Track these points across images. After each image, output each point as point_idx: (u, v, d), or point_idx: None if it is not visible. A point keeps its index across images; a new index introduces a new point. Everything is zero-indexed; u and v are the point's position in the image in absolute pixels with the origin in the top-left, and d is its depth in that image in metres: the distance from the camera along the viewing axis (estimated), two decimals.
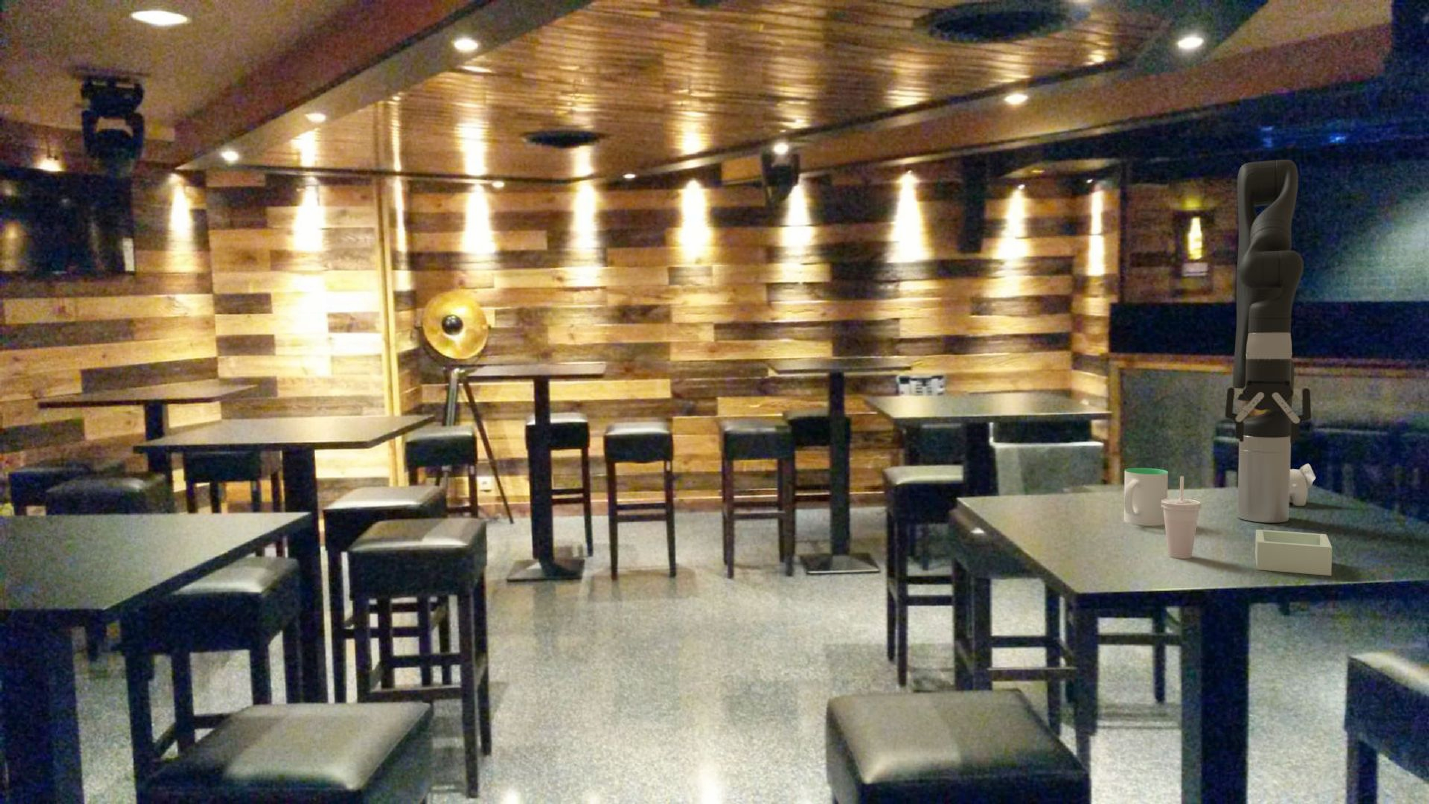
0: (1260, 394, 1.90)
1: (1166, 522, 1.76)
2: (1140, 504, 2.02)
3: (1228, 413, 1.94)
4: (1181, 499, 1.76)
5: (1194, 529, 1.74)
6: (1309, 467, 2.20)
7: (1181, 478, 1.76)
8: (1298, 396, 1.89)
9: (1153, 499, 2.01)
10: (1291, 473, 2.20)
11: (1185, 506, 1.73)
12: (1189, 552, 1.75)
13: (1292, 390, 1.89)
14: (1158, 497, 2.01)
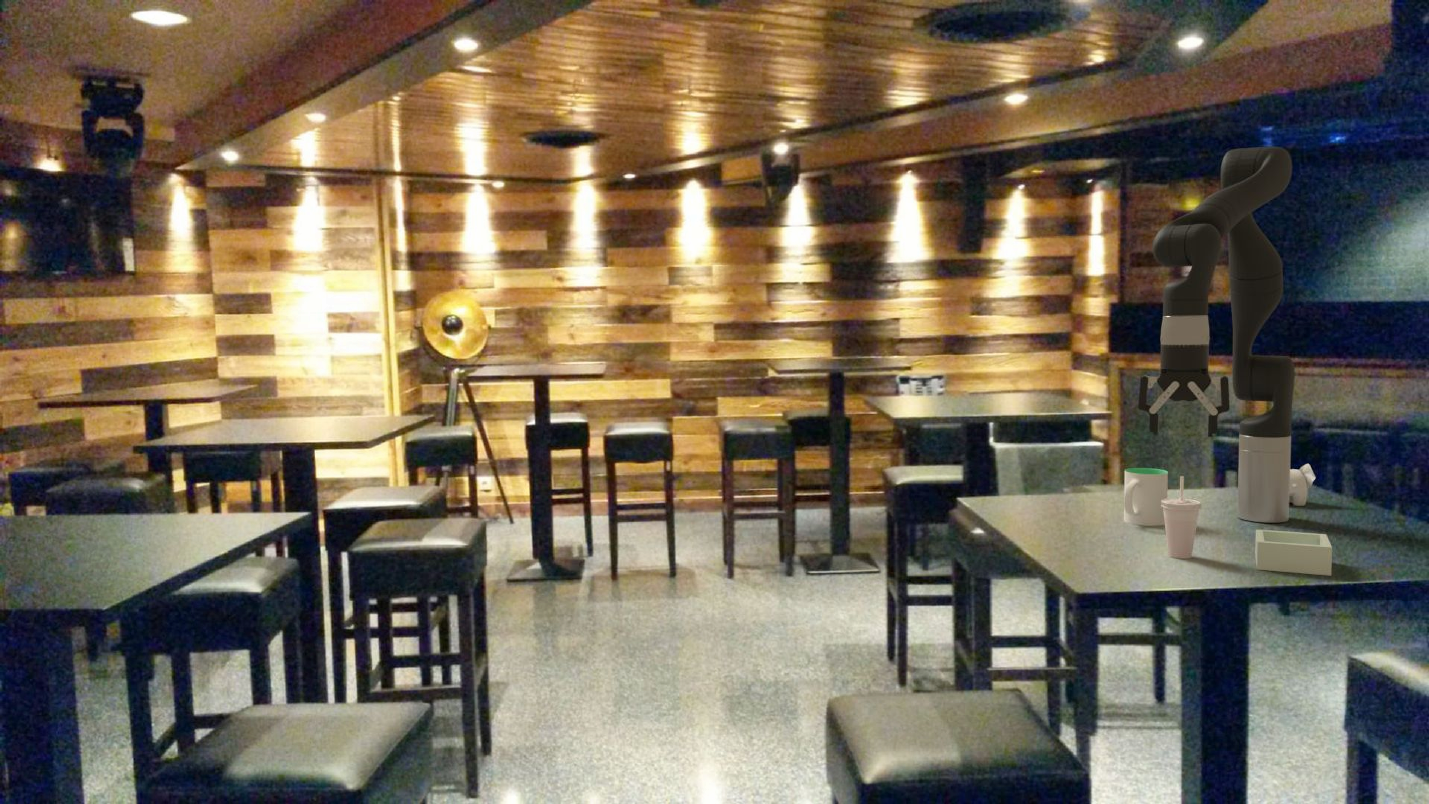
0: (1175, 383, 1.73)
1: (1166, 522, 1.76)
2: (1140, 504, 2.02)
3: (1141, 404, 1.76)
4: (1181, 499, 1.76)
5: (1194, 529, 1.74)
6: (1309, 467, 2.20)
7: (1181, 478, 1.76)
8: (1216, 385, 1.71)
9: (1153, 499, 2.01)
10: (1291, 473, 2.20)
11: (1185, 506, 1.73)
12: (1189, 552, 1.75)
13: (1209, 379, 1.71)
14: (1158, 497, 2.01)
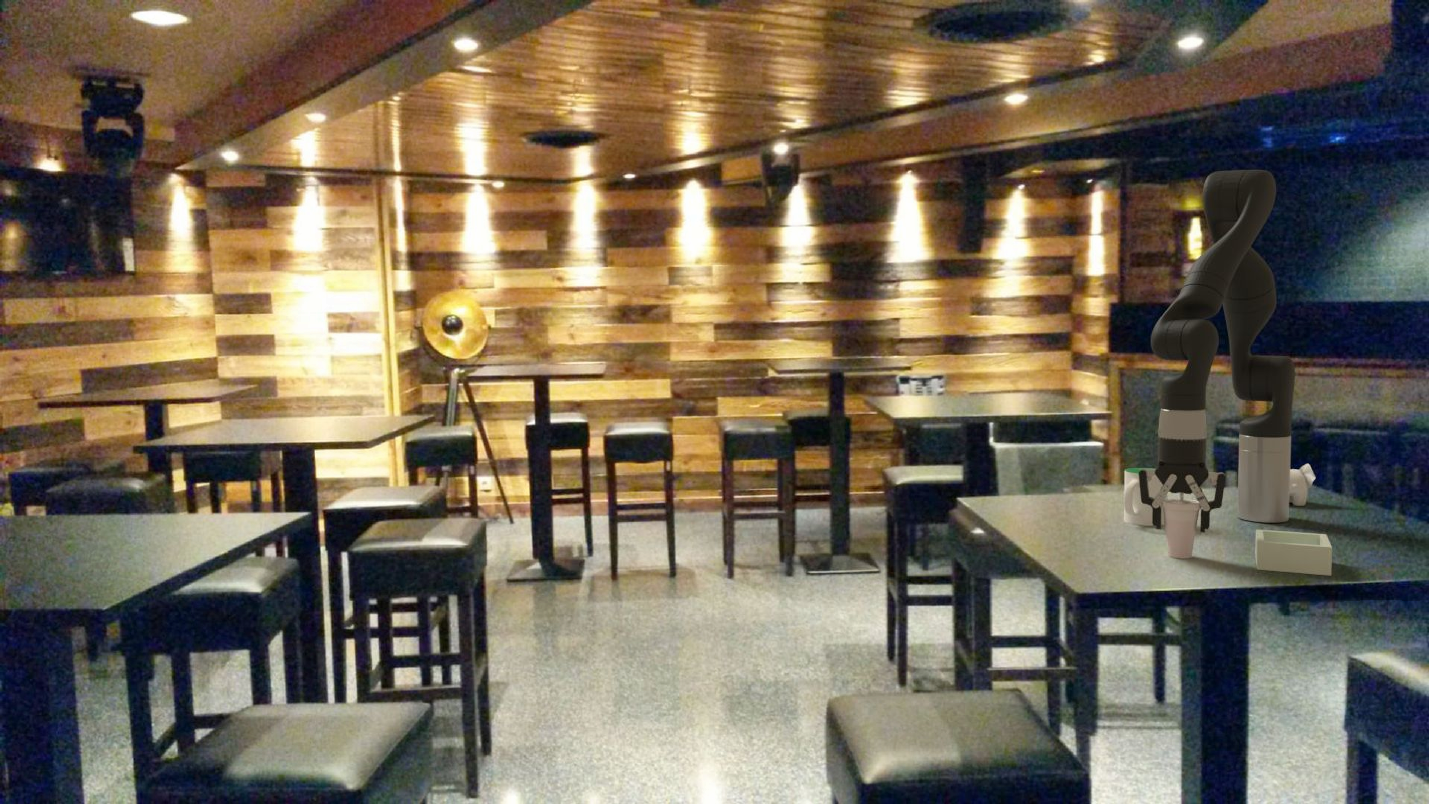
0: (1172, 476, 1.74)
1: (1166, 522, 1.76)
2: (1140, 504, 2.02)
3: (1144, 498, 1.77)
4: (1181, 499, 1.76)
5: (1194, 529, 1.74)
6: (1309, 467, 2.20)
7: None
8: (1212, 480, 1.73)
9: None
10: (1291, 473, 2.20)
11: (1185, 506, 1.73)
12: (1189, 552, 1.75)
13: (1207, 473, 1.73)
14: None
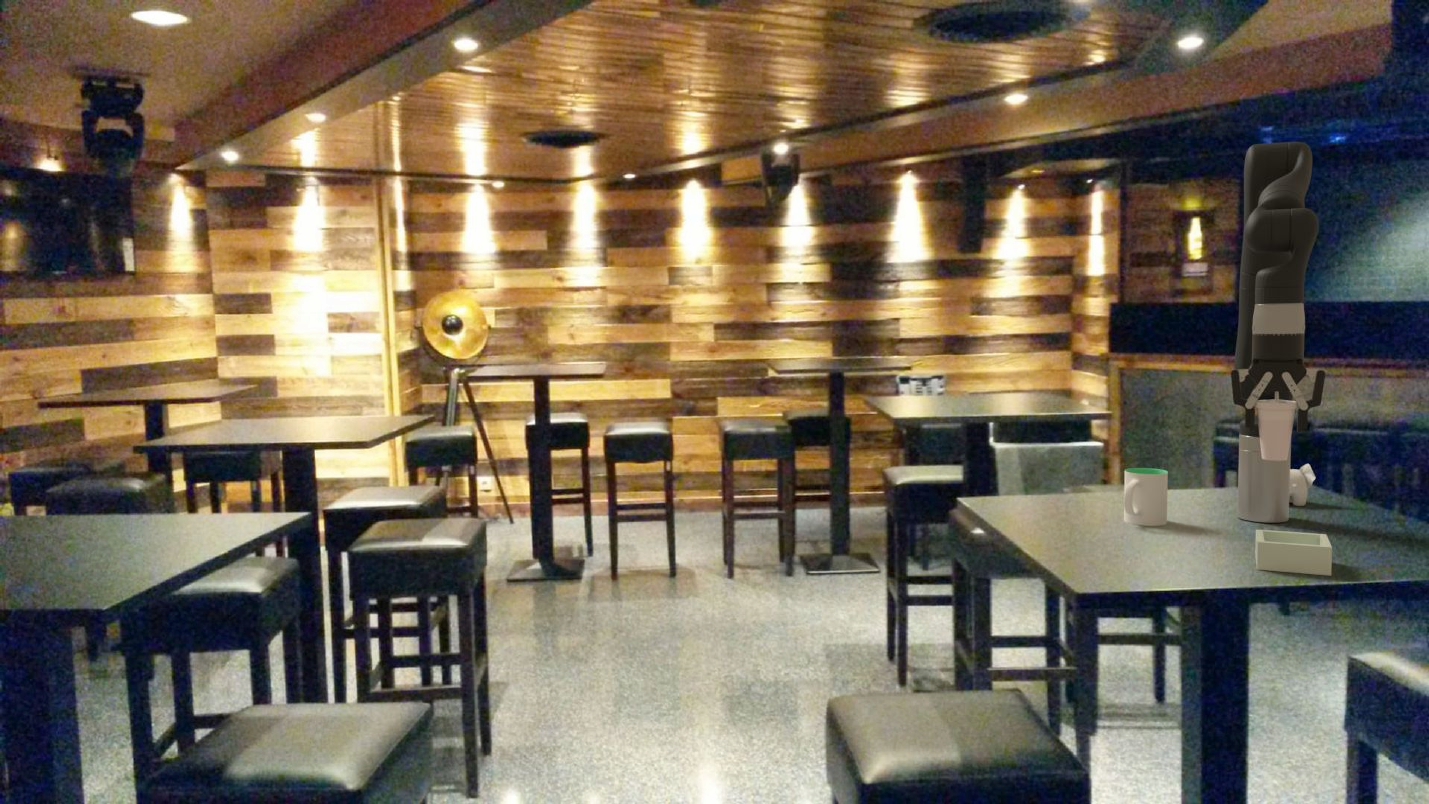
0: (1268, 374, 1.66)
1: (1260, 423, 1.68)
2: (1140, 504, 2.02)
3: (1236, 399, 1.70)
4: (1276, 399, 1.68)
5: (1290, 429, 1.66)
6: (1309, 467, 2.20)
7: None
8: (1311, 378, 1.65)
9: (1153, 499, 2.01)
10: (1291, 473, 2.20)
11: (1282, 405, 1.65)
12: (1285, 453, 1.67)
13: (1305, 370, 1.65)
14: (1158, 497, 2.01)
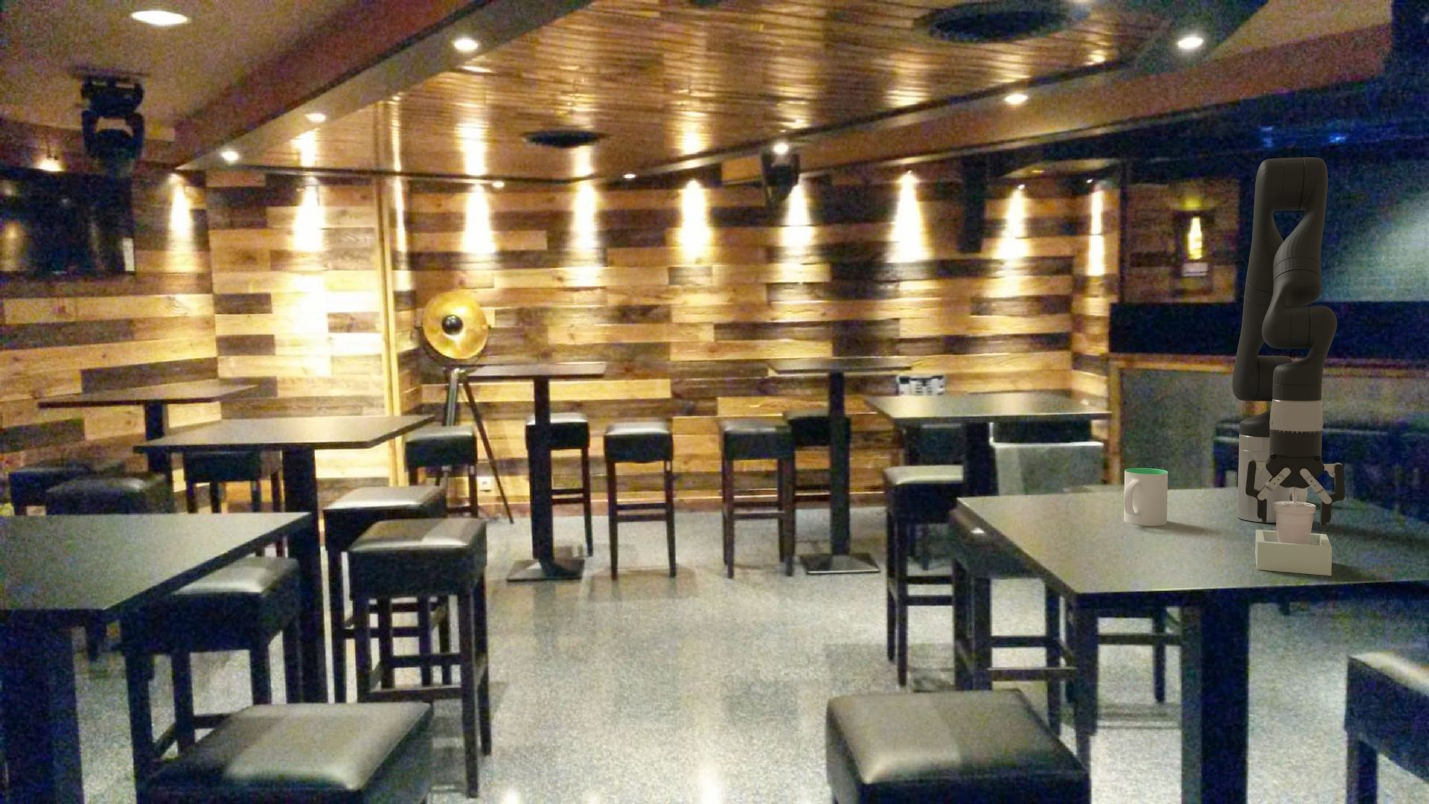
0: (1286, 470, 1.66)
1: (1279, 526, 1.68)
2: (1140, 504, 2.02)
3: (1249, 490, 1.70)
4: (1294, 502, 1.68)
5: (1309, 533, 1.67)
6: None
7: None
8: (1330, 473, 1.65)
9: (1153, 499, 2.01)
10: None
11: (1300, 509, 1.65)
12: None
13: (1323, 466, 1.65)
14: (1158, 497, 2.01)
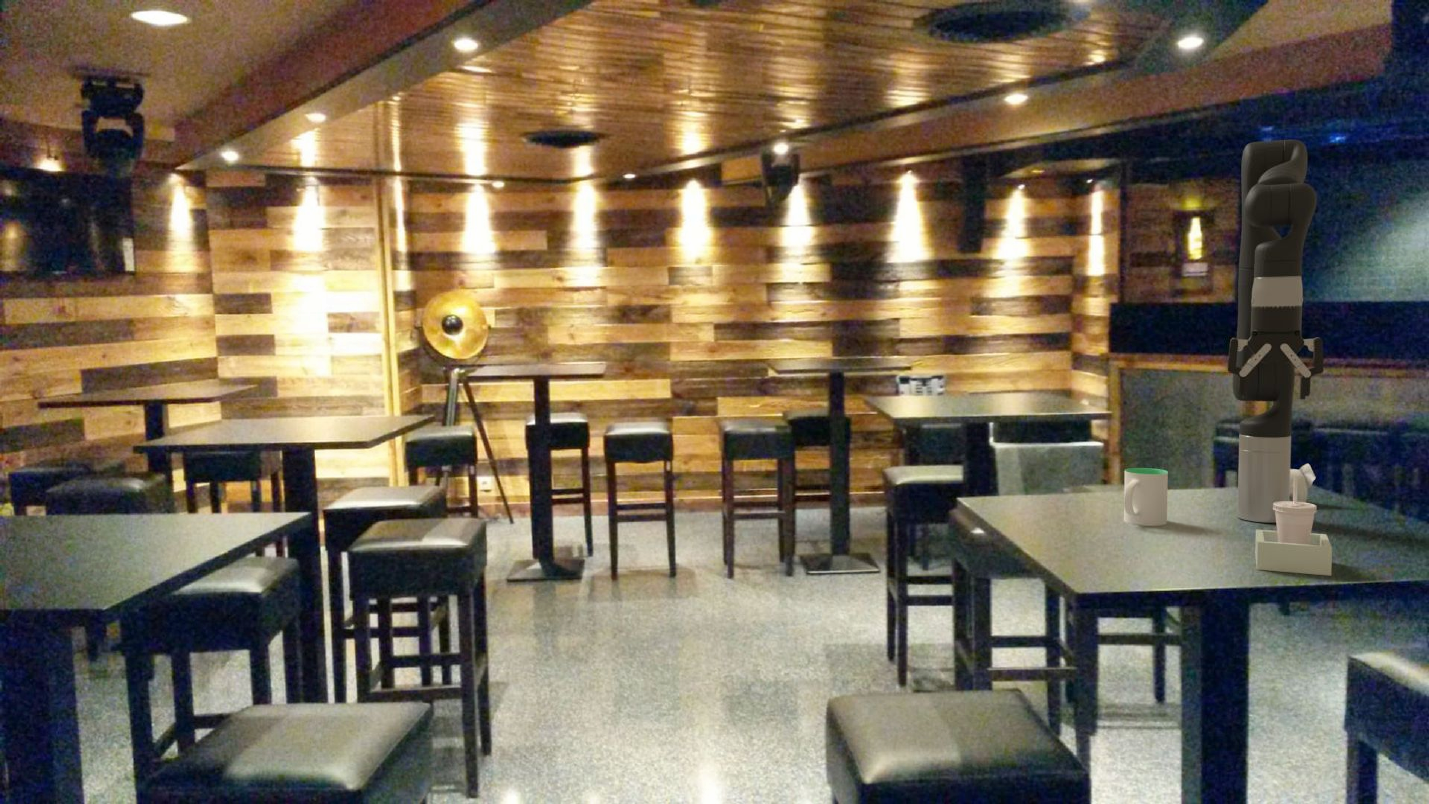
0: (1267, 346, 1.71)
1: (1279, 526, 1.68)
2: (1140, 504, 2.02)
3: (1231, 367, 1.74)
4: (1295, 502, 1.68)
5: (1309, 533, 1.67)
6: (1309, 467, 2.20)
7: (1294, 480, 1.68)
8: (1309, 347, 1.70)
9: (1153, 499, 2.01)
10: (1291, 473, 2.20)
11: (1300, 509, 1.65)
12: None
13: (1303, 340, 1.70)
14: (1158, 497, 2.01)
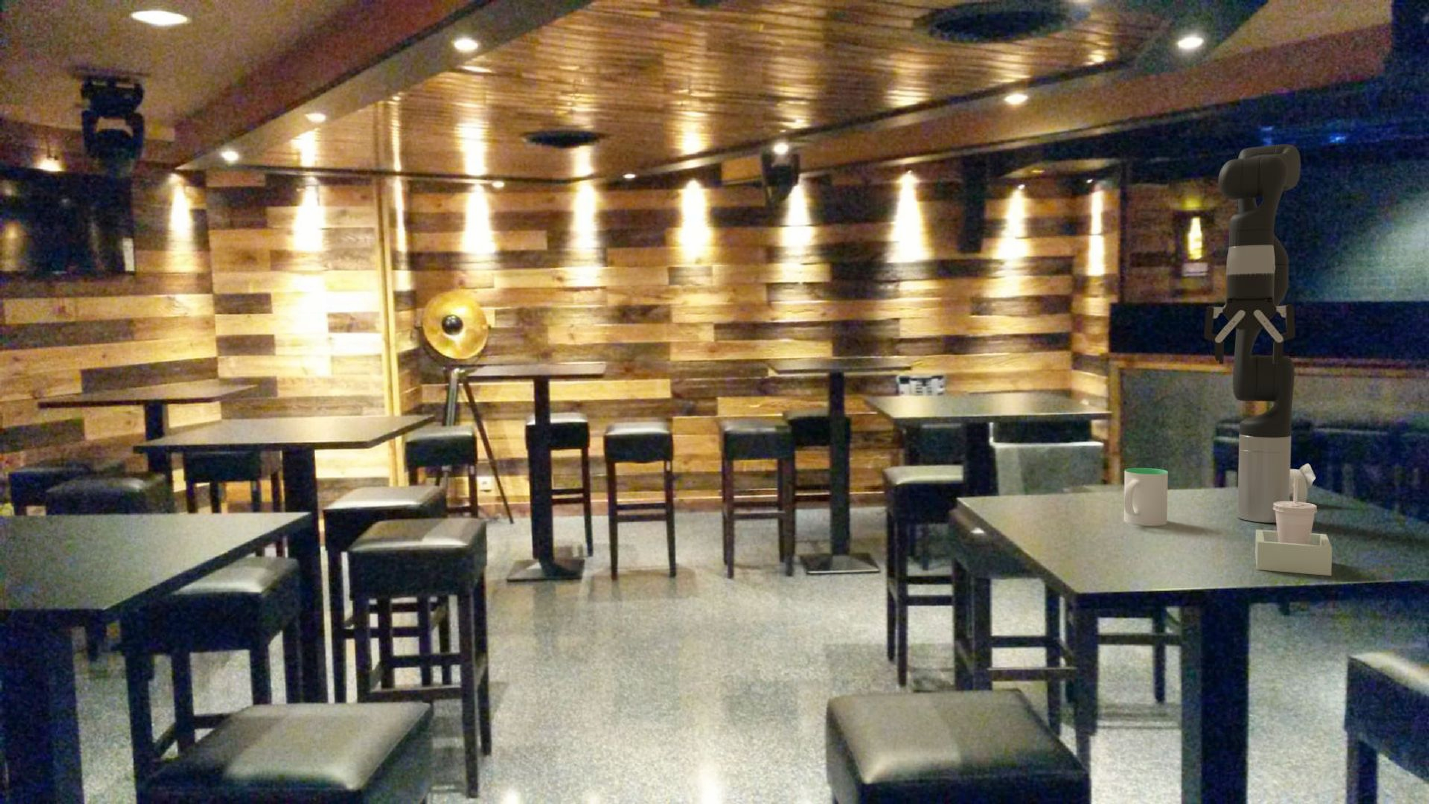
0: (1241, 312, 1.78)
1: (1279, 526, 1.68)
2: (1140, 504, 2.02)
3: (1207, 334, 1.81)
4: (1295, 502, 1.68)
5: (1309, 533, 1.67)
6: (1309, 467, 2.20)
7: (1295, 480, 1.68)
8: (1281, 313, 1.77)
9: (1153, 499, 2.01)
10: (1291, 473, 2.20)
11: (1301, 509, 1.65)
12: None
13: (1275, 307, 1.77)
14: (1158, 497, 2.01)
